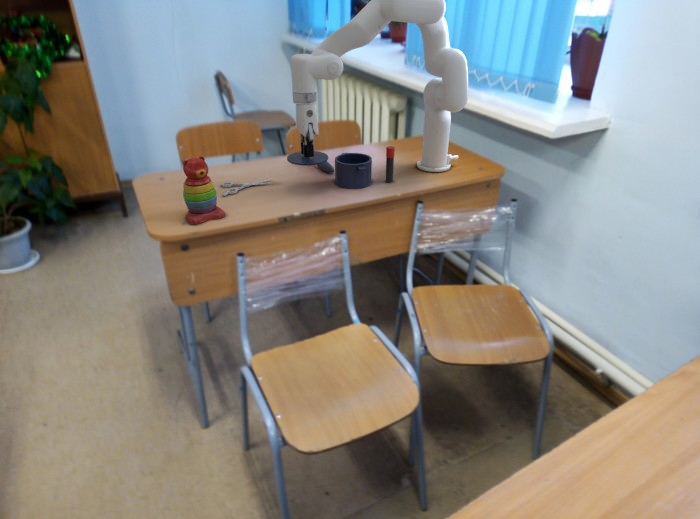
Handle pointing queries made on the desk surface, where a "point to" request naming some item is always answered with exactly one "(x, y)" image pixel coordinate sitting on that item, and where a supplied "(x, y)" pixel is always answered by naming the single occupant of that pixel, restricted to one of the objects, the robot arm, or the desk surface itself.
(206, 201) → the stacking bear
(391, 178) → the marker
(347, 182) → the pot
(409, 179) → the desk surface
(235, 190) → the scissors
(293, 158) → the lid
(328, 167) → the grey microphone
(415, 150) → the desk surface
